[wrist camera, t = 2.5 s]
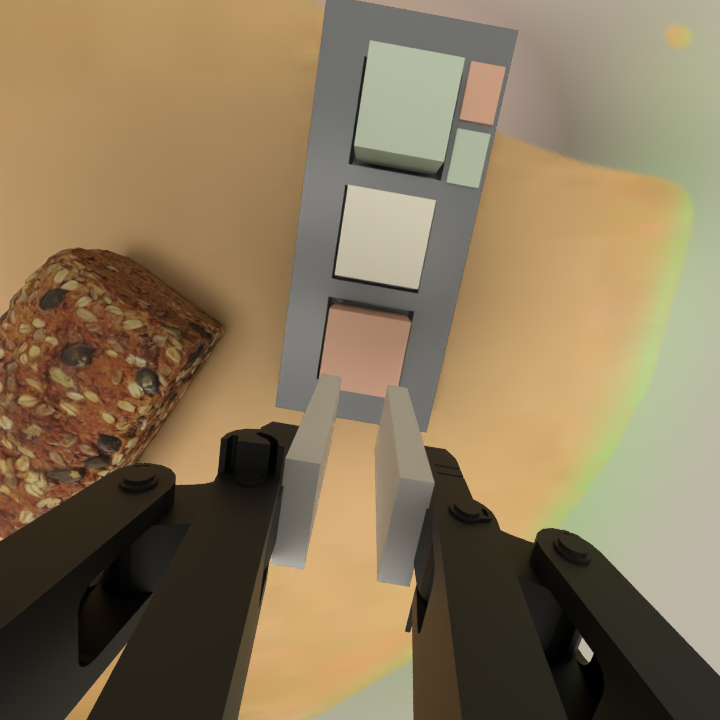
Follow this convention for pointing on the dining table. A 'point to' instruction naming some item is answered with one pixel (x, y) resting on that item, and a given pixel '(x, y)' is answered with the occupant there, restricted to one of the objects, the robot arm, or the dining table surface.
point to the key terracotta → (365, 348)
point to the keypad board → (339, 169)
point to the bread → (88, 375)
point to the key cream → (384, 236)
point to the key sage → (407, 107)
